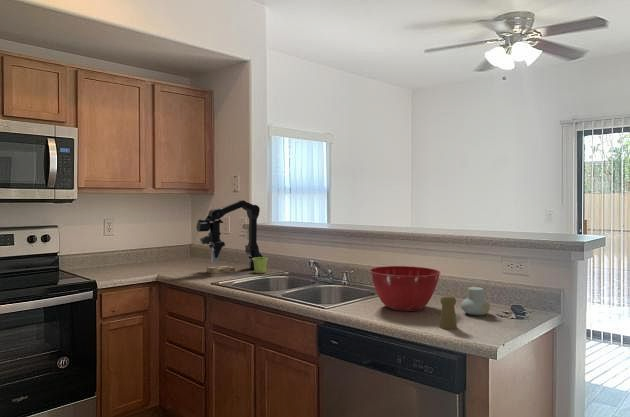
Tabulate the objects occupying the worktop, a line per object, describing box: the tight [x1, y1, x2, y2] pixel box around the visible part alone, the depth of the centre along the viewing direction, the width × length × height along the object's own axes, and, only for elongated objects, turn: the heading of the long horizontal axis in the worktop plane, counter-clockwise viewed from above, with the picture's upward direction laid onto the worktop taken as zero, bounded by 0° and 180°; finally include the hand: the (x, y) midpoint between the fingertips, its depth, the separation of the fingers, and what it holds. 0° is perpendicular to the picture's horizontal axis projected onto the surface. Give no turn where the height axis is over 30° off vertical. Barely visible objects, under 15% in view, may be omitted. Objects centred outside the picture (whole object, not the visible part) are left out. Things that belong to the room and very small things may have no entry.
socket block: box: [206, 265, 236, 275], centre depth 289 cm, size 14×10×3 cm
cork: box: [438, 294, 458, 330], centre depth 172 cm, size 6×6×11 cm
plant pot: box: [252, 256, 269, 274], centre depth 288 cm, size 9×9×9 cm
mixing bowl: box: [369, 265, 441, 312], centre depth 201 cm, size 28×28×15 cm
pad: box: [228, 271, 248, 276], centre depth 284 cm, size 9×9×1 cm
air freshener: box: [460, 286, 491, 317], centre depth 191 cm, size 11×8×10 cm
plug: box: [210, 248, 220, 263], centre depth 287 cm, size 4×4×8 cm
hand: (215, 257), depth 287 cm, fingers closed on plug, 4 cm apart
